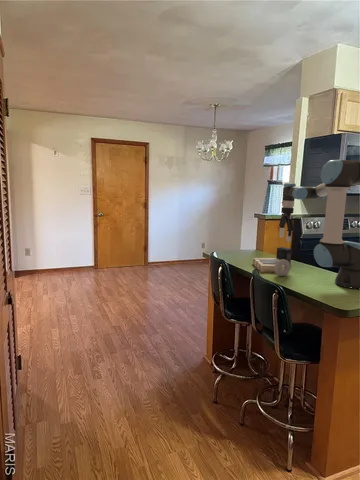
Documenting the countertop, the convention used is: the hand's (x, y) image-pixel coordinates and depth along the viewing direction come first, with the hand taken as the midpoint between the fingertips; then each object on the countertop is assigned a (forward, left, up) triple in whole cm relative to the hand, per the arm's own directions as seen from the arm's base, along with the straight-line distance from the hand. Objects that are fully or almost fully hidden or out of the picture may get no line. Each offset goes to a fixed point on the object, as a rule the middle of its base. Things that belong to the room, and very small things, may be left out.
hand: (284, 239), depth 215 cm
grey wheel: (-30, +11, -17) cm, 36 cm away
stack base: (-12, +13, -17) cm, 24 cm away
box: (0, 0, -17) cm, 17 cm away
